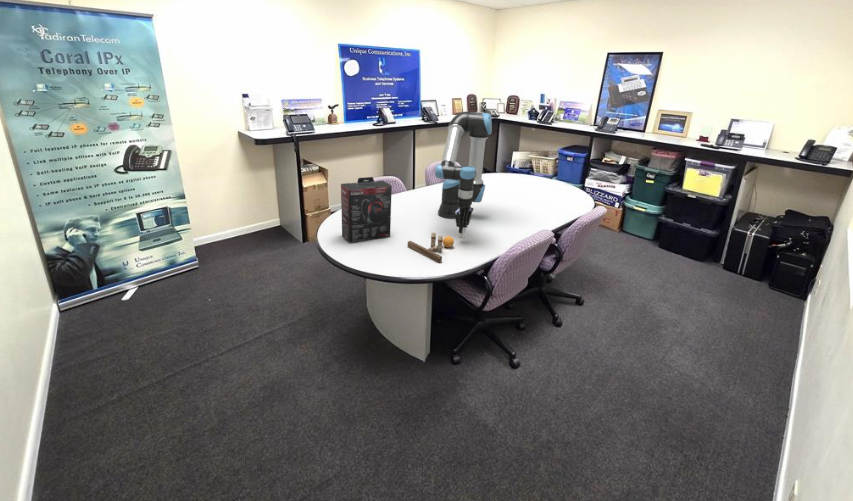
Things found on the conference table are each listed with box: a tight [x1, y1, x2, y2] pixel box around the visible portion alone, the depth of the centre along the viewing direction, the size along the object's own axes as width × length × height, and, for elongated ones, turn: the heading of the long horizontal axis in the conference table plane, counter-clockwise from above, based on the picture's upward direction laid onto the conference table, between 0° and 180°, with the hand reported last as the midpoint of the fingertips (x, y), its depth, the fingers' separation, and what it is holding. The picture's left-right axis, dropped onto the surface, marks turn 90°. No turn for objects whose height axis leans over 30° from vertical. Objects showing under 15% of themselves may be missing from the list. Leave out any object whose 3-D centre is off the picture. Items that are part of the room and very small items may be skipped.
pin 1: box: [430, 232, 437, 248], centre depth 216 cm, size 2×2×8 cm
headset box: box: [340, 176, 393, 244], centre depth 222 cm, size 25×12×33 cm, turn 120°
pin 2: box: [436, 235, 444, 254], centre depth 213 cm, size 2×2×8 cm
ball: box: [442, 235, 455, 248], centre depth 220 cm, size 6×6×6 cm
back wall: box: [407, 240, 443, 264], centre depth 211 cm, size 2×24×3 cm, turn 42°
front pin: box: [427, 244, 444, 253], centre depth 216 cm, size 2×2×8 cm
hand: (461, 238), depth 228 cm, fingers closed
